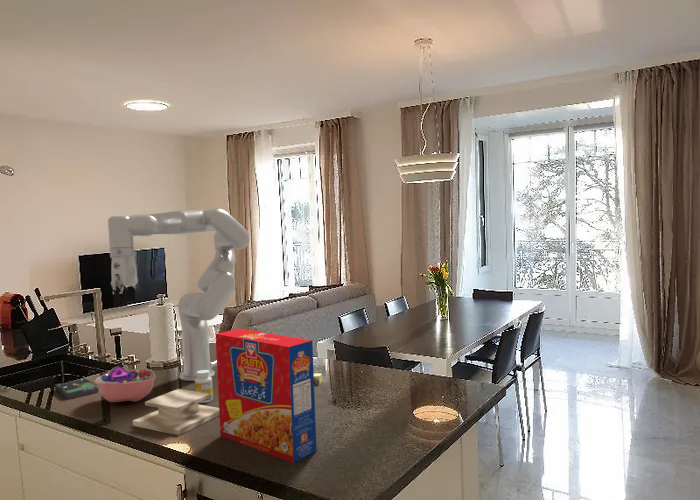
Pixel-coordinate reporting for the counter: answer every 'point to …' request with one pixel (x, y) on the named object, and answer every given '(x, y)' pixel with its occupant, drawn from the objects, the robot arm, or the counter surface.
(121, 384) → the cell model
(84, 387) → the disk drive
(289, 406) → the pasta box
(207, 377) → the supplement bottle
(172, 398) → the stand
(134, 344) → the counter surface
